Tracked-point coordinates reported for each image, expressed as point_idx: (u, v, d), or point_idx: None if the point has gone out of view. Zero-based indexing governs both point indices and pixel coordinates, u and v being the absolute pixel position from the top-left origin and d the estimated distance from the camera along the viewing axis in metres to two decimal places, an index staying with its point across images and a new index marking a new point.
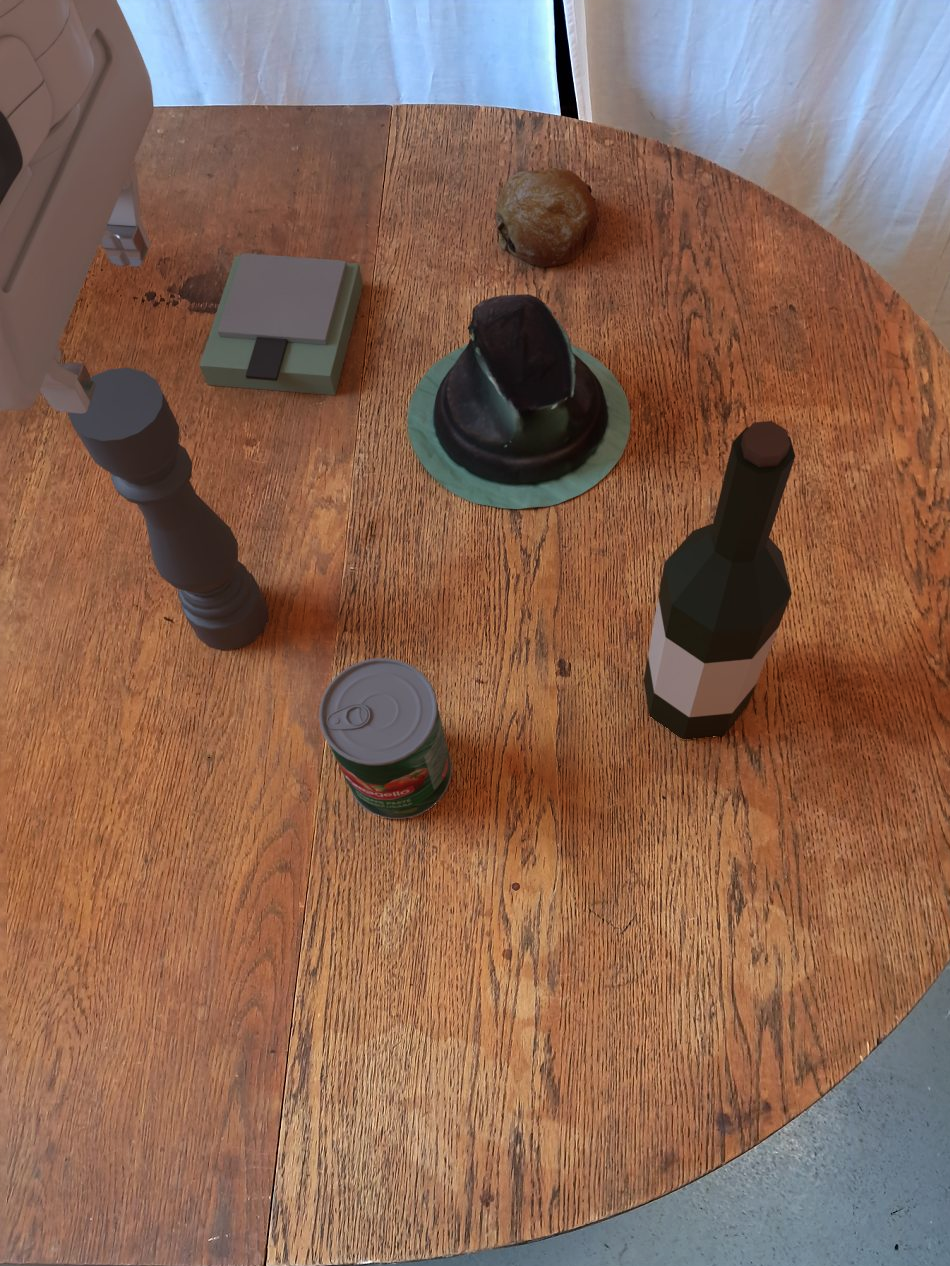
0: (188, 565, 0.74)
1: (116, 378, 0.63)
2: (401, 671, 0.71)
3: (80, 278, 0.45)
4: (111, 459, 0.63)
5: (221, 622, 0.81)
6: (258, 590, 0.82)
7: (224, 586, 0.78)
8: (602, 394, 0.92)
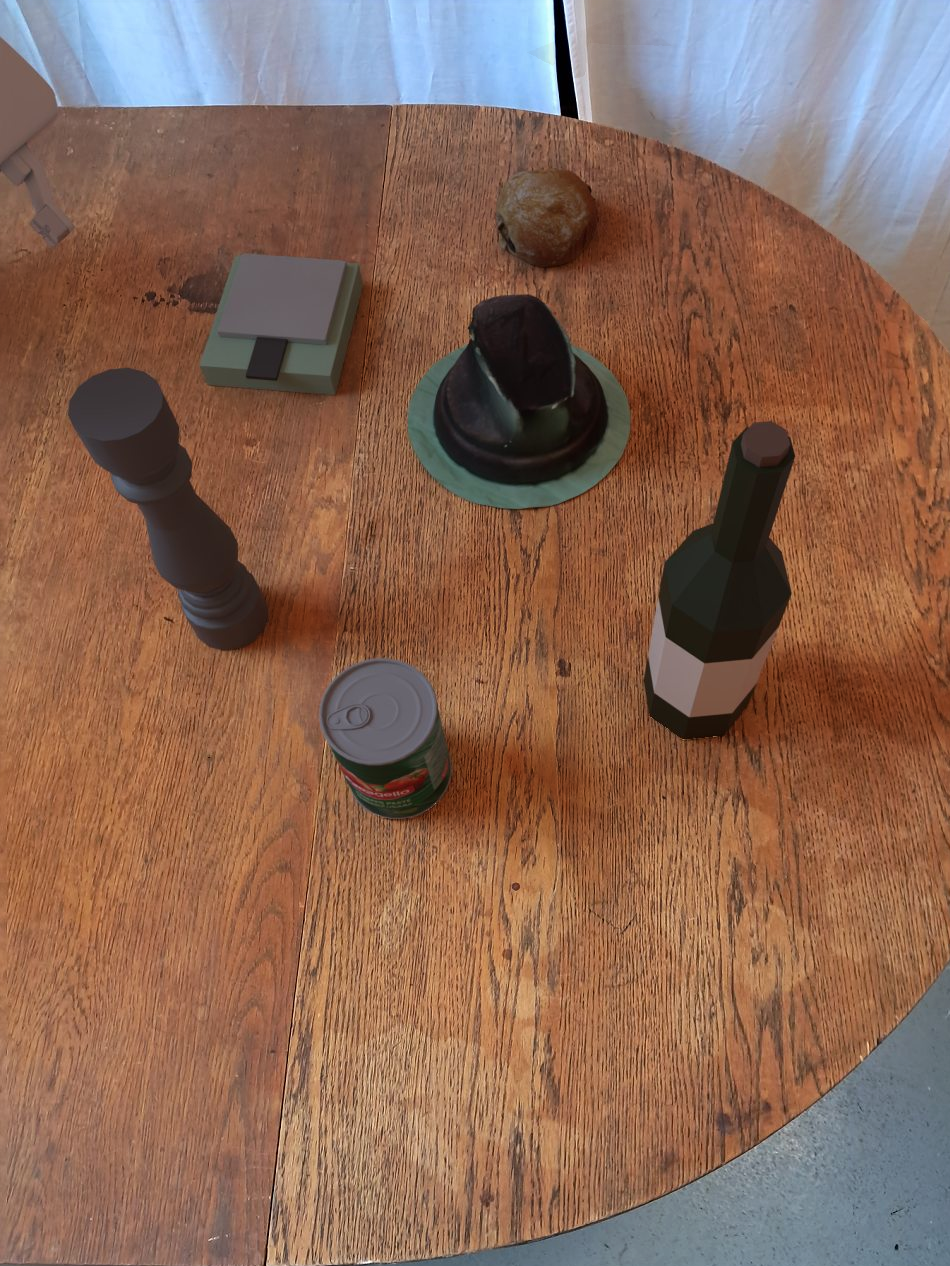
0: (188, 565, 0.74)
1: (116, 378, 0.63)
2: (401, 671, 0.71)
3: None
4: (111, 459, 0.63)
5: (221, 622, 0.81)
6: (258, 590, 0.82)
7: (224, 586, 0.78)
8: (602, 394, 0.92)
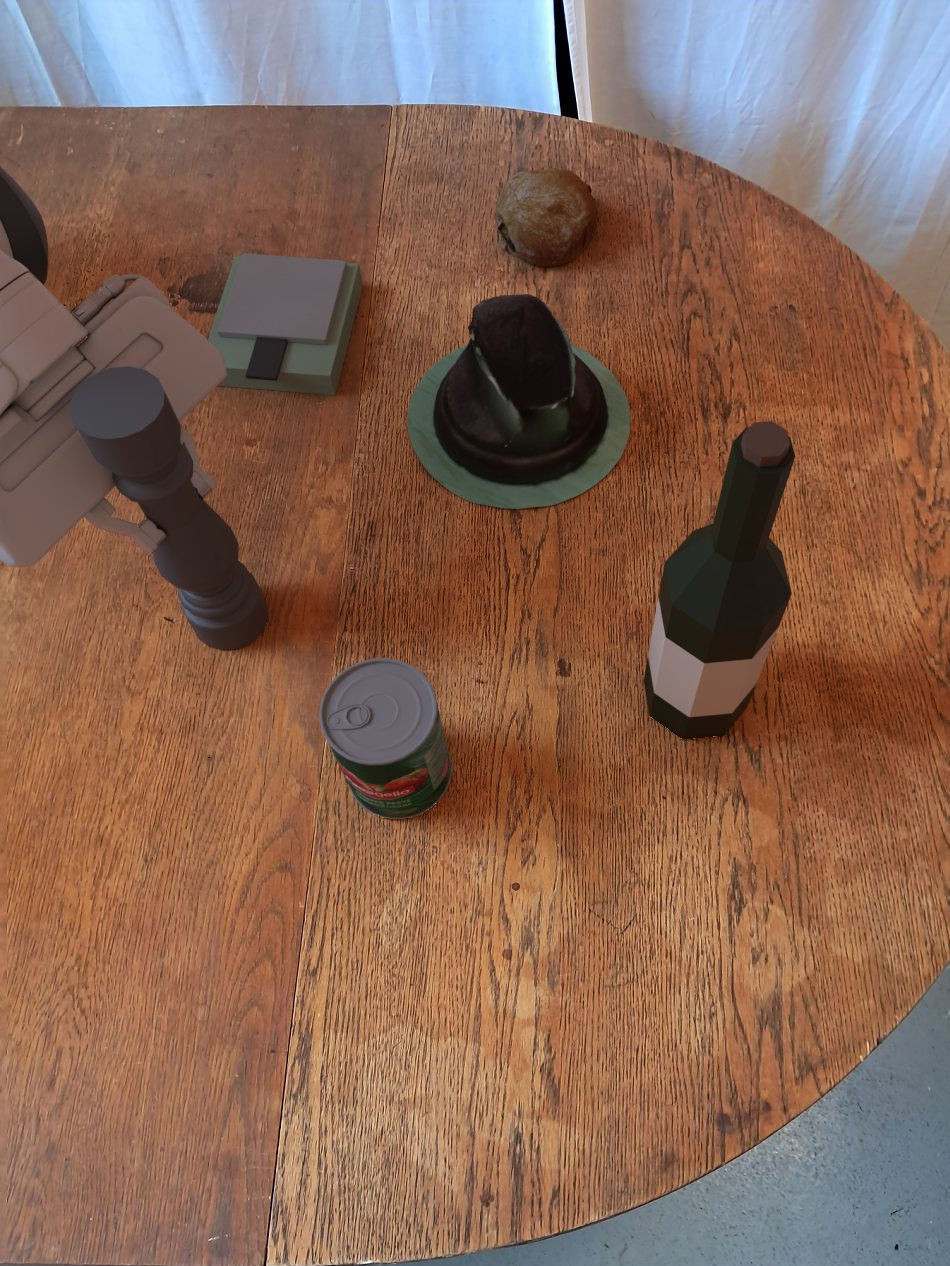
0: (189, 564, 0.74)
1: (118, 377, 0.63)
2: (401, 671, 0.71)
3: (104, 483, 0.68)
4: (113, 457, 0.63)
5: (221, 621, 0.81)
6: (258, 590, 0.82)
7: (224, 586, 0.78)
8: (602, 394, 0.92)
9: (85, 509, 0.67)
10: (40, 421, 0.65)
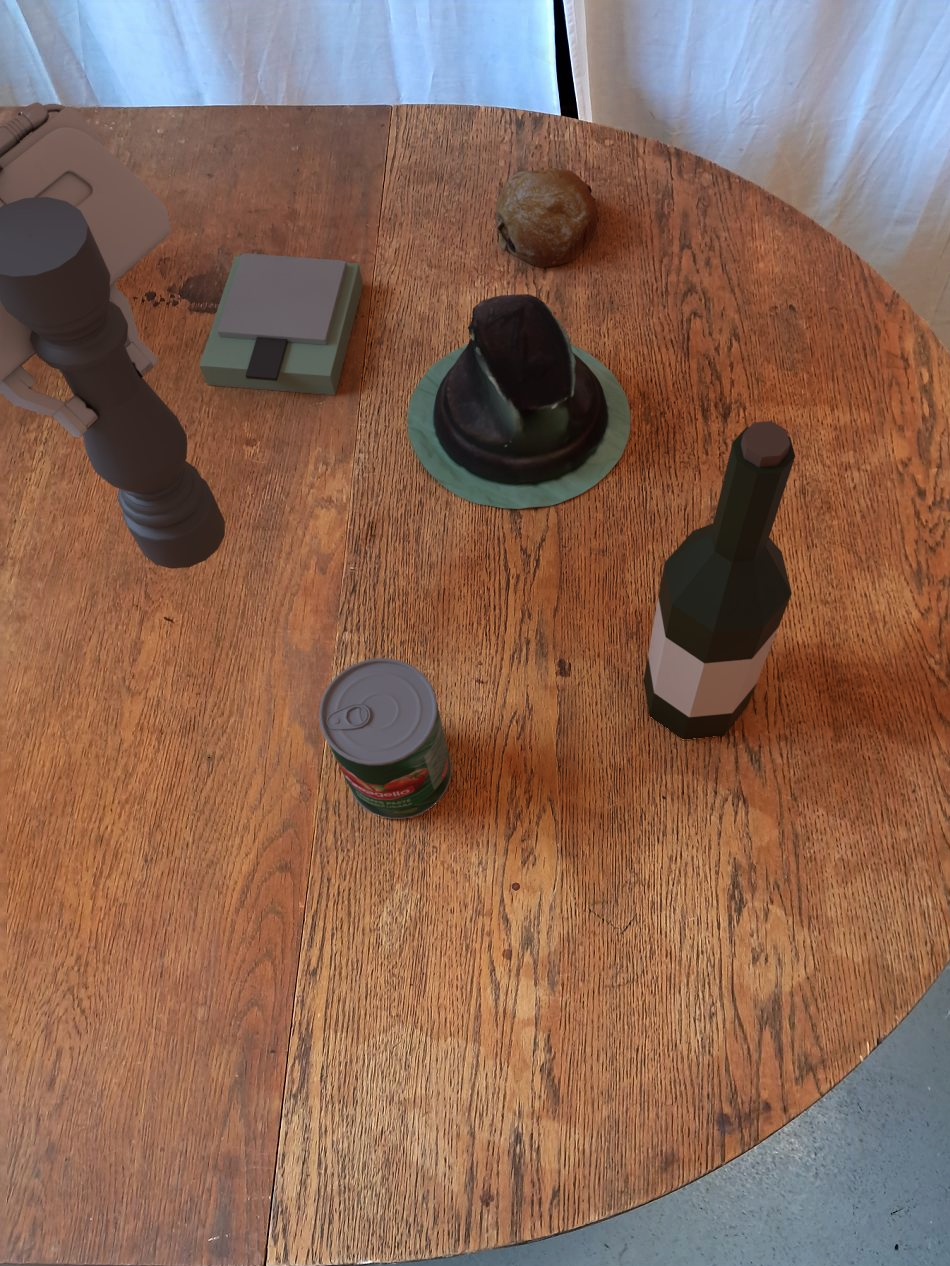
0: (126, 455, 0.63)
1: (32, 208, 0.53)
2: (401, 671, 0.71)
3: (20, 347, 0.57)
4: (24, 303, 0.52)
5: (168, 532, 0.70)
6: (212, 498, 0.72)
7: (171, 487, 0.68)
8: (602, 394, 0.92)
9: None
10: None
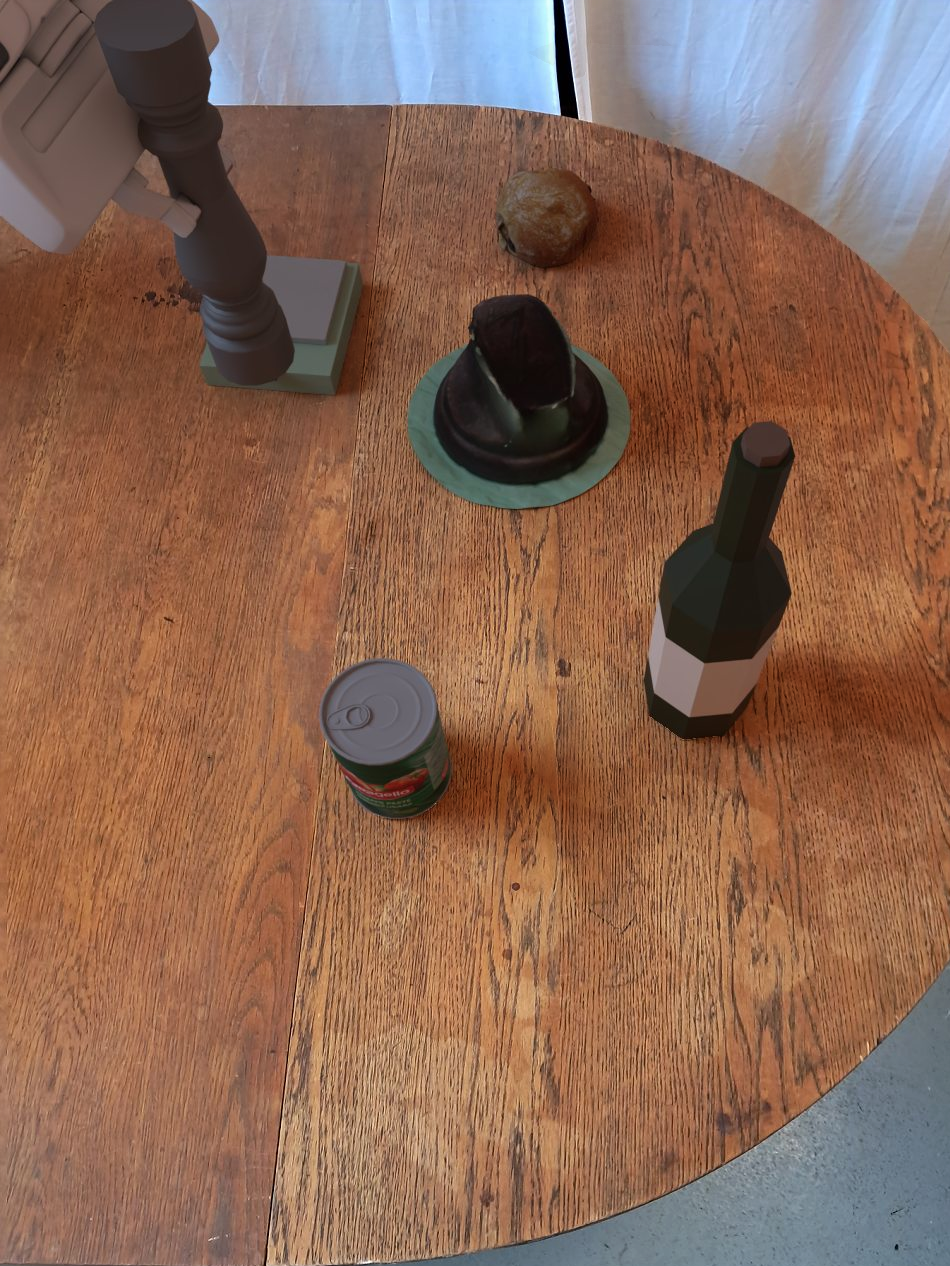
0: (226, 252, 0.69)
1: (136, 0, 0.59)
2: (401, 671, 0.71)
3: (132, 147, 0.63)
4: (153, 81, 0.58)
5: (255, 342, 0.76)
6: (282, 310, 0.78)
7: (256, 292, 0.74)
8: (602, 394, 0.92)
9: (121, 175, 0.62)
10: (54, 77, 0.60)
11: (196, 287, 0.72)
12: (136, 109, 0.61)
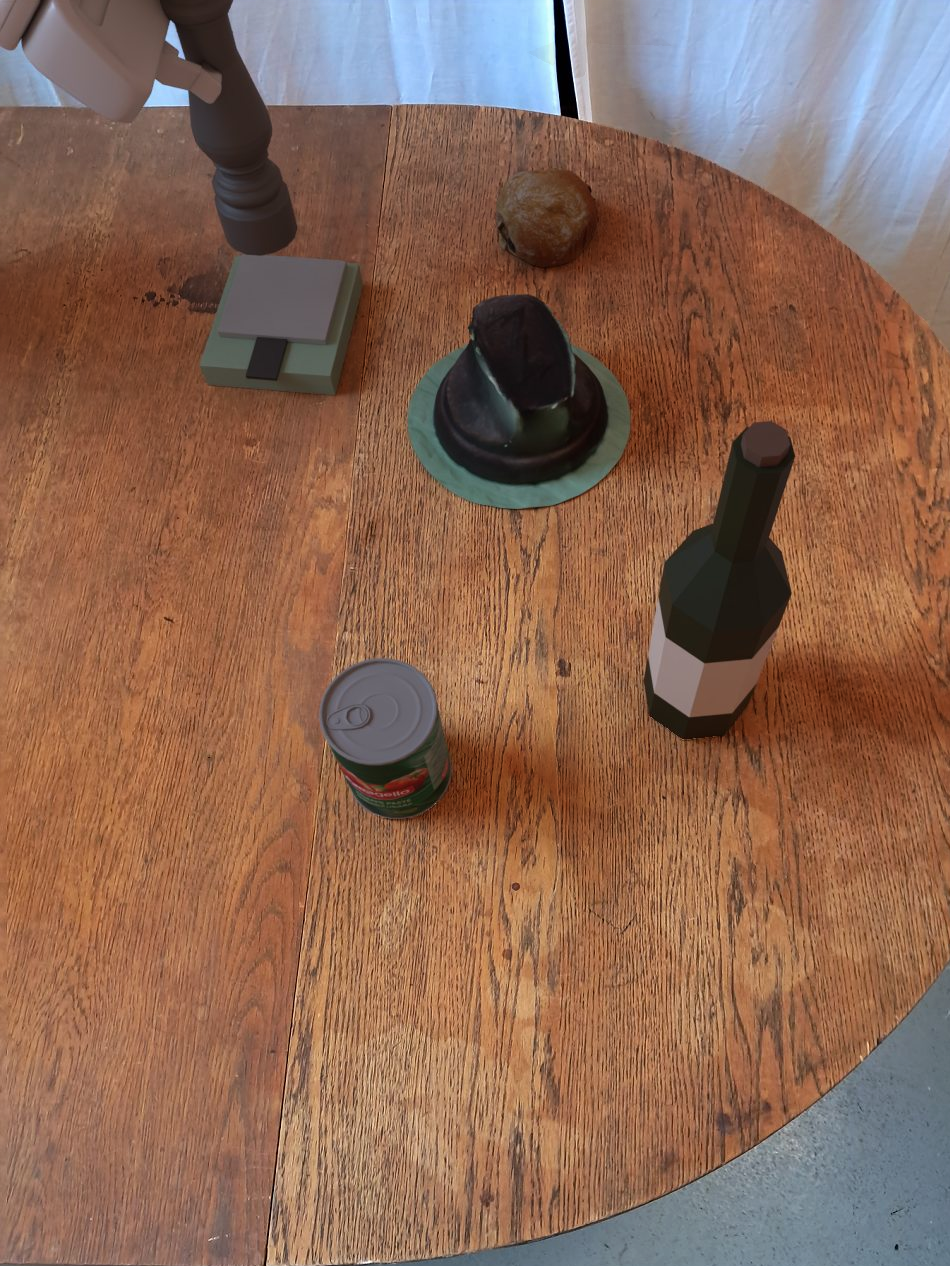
0: (244, 115, 0.78)
1: None
2: (401, 671, 0.71)
3: (161, 20, 0.71)
4: None
5: (270, 207, 0.85)
6: None
7: (266, 157, 0.83)
8: (602, 394, 0.92)
9: (161, 44, 0.70)
10: None
11: (218, 157, 0.80)
12: None
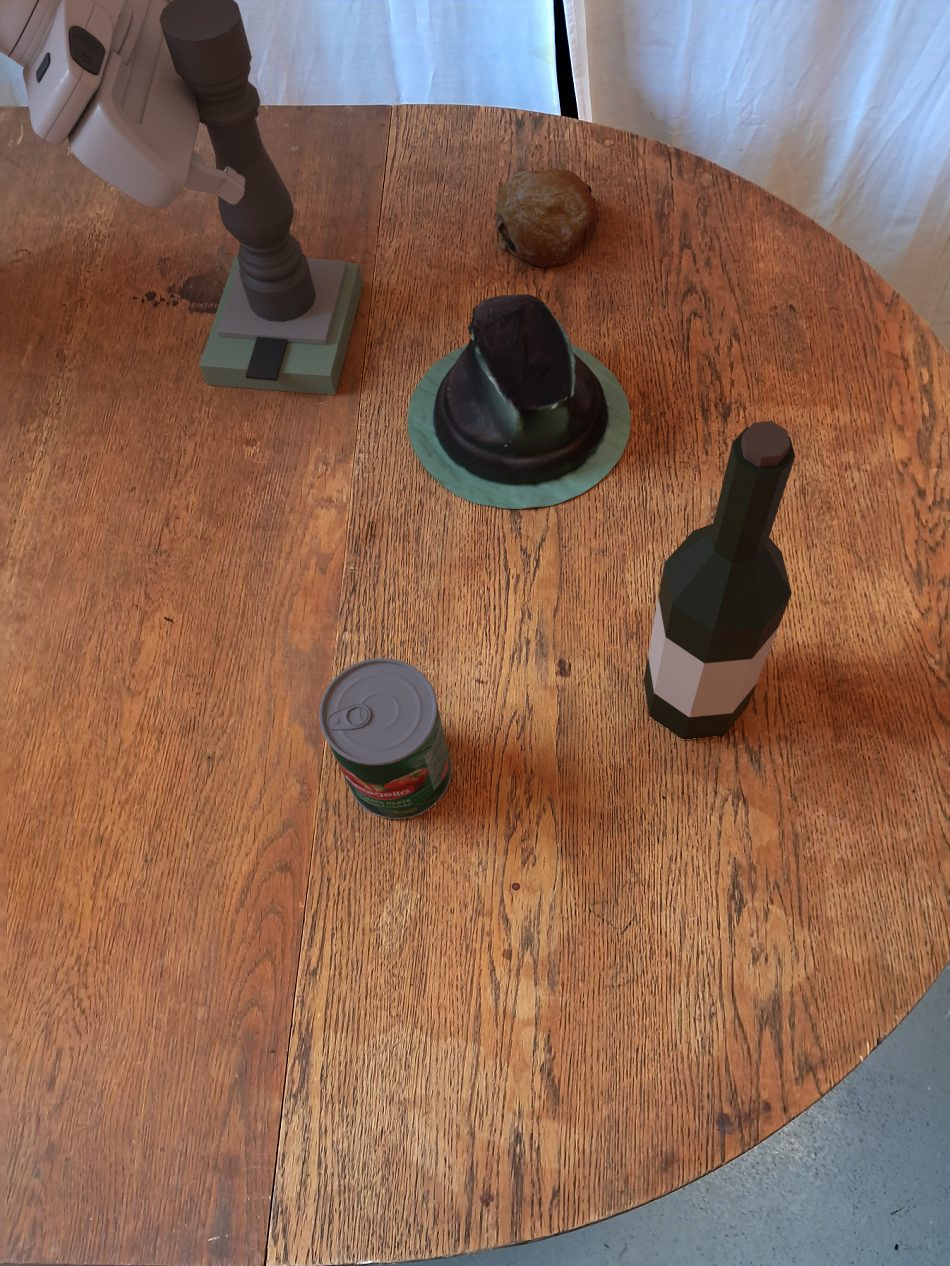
0: (269, 202, 0.85)
1: (184, 2, 0.74)
2: (401, 671, 0.71)
3: (194, 113, 0.77)
4: (218, 62, 0.74)
5: (291, 279, 0.92)
6: None
7: (288, 235, 0.89)
8: (602, 394, 0.92)
9: (194, 136, 0.77)
10: (129, 65, 0.74)
11: (245, 239, 0.87)
12: (200, 90, 0.76)
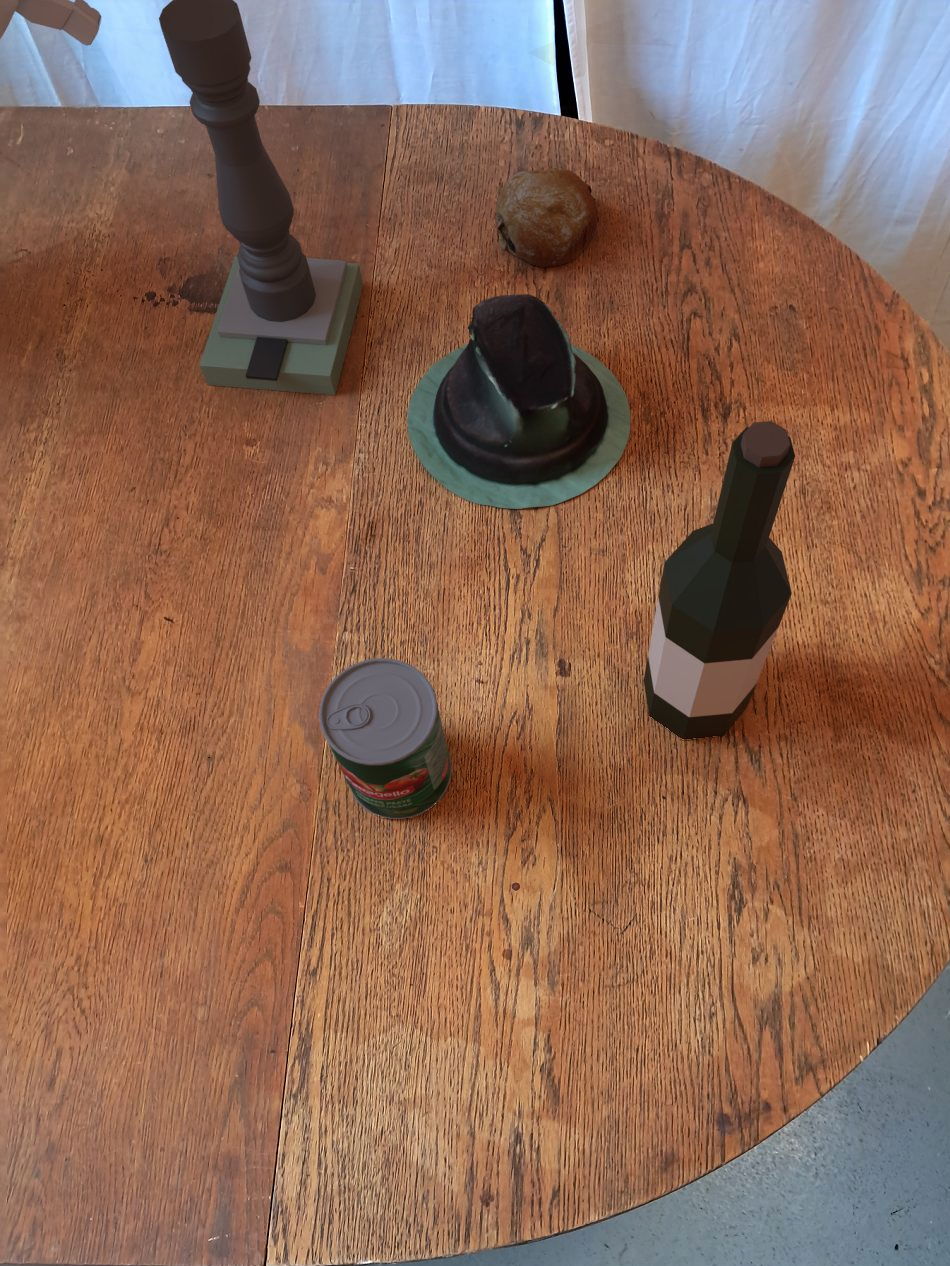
0: (269, 202, 0.85)
1: (184, 3, 0.74)
2: (401, 671, 0.71)
3: None
4: (218, 63, 0.74)
5: (291, 279, 0.92)
6: None
7: (287, 235, 0.89)
8: (602, 394, 0.92)
9: None
10: None
11: (245, 239, 0.87)
12: (200, 90, 0.76)
